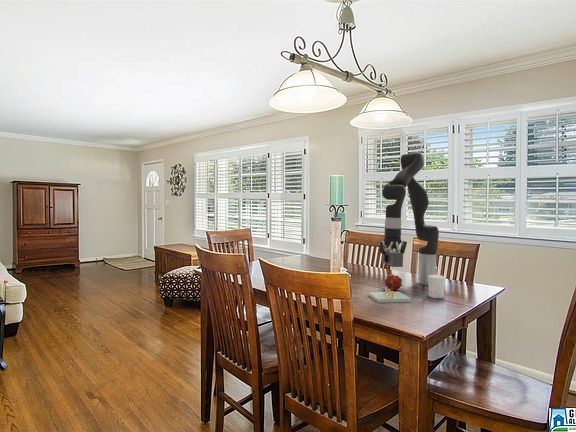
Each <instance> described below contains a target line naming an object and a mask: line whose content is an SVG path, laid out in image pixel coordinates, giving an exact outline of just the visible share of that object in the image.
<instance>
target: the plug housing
mask: <svg viewBox="0 0 576 432" xmlns="http://www.w3.org/2000/svg"><path fill="white" fill-rule="evenodd" d="M381 263H383V264H385V265H387V266H389V267H391V268H403V267H404V254H402V253H399V252H396V251H395V250H393V249H390V251H389V252H388V263H385V262H384V254H382V253H381Z"/></svg>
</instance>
